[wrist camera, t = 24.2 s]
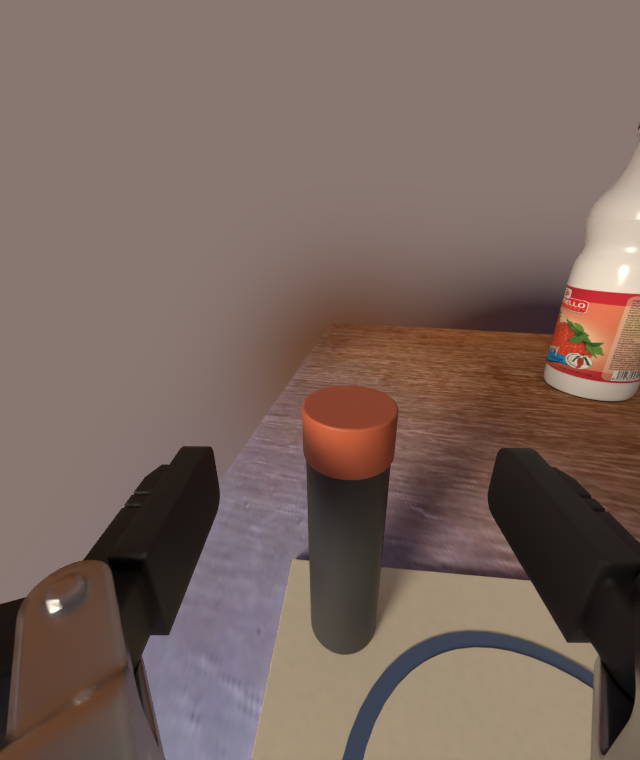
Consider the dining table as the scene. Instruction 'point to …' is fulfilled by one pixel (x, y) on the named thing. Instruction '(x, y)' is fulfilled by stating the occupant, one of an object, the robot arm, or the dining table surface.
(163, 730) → the dining table surface
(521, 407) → the dining table surface
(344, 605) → the marker
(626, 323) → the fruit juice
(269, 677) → the paper
